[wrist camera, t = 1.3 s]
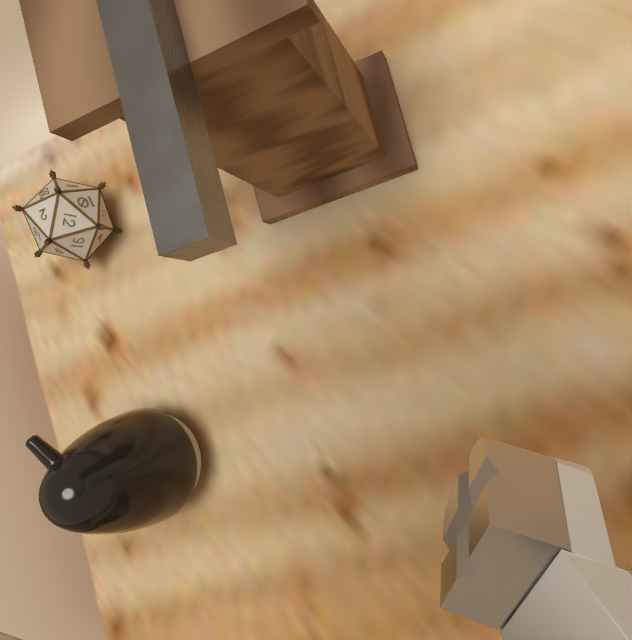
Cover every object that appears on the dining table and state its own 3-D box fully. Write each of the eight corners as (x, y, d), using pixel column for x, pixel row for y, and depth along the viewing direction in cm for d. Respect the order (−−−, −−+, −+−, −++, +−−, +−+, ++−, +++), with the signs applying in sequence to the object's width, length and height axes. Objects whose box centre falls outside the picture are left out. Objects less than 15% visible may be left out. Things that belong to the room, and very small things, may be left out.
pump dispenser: (177, 380, 56) (59, 400, 42) (237, 470, 54) (134, 524, 40) (108, 440, 59) (-25, 478, 45) (163, 528, 57) (41, 598, 43)
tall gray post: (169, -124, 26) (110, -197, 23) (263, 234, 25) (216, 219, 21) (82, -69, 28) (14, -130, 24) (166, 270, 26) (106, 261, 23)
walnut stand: (385, 58, 50) (250, -199, 25) (418, 169, 49) (310, 15, 24) (242, 121, 54) (9, -44, 30) (269, 224, 53) (51, 141, 29)
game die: (107, 235, 64) (4, 213, 58) (131, 171, 59) (22, 140, 54) (113, 292, 58) (0, 274, 53) (141, 226, 53) (20, 198, 48)
